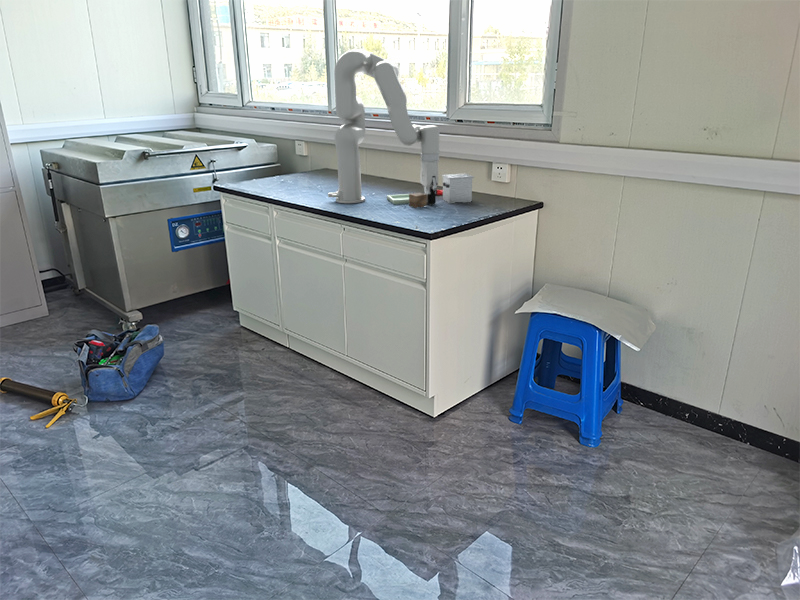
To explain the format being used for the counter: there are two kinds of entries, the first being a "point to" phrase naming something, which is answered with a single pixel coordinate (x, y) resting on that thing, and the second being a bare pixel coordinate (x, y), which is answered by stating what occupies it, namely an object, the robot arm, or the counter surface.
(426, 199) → the spacer
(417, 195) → the walnut block
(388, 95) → the robot arm
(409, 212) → the counter surface
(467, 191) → the control box
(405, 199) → the tray
